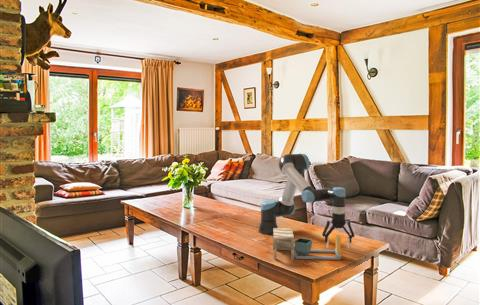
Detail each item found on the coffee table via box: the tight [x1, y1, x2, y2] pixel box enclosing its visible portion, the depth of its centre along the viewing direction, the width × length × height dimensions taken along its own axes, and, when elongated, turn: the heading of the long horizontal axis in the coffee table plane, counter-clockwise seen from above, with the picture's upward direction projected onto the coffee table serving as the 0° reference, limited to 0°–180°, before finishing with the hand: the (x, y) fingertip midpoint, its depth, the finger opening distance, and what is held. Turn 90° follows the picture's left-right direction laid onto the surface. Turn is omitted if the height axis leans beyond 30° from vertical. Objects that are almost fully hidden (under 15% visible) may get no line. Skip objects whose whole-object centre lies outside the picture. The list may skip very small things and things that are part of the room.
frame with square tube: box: [294, 234, 342, 261], centre depth 222 cm, size 14×28×12 cm, turn 86°
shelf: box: [272, 227, 295, 261], centre depth 224 cm, size 19×12×14 cm, turn 176°
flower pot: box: [294, 237, 313, 256], centre depth 223 cm, size 9×9×9 cm
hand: (338, 247), depth 221 cm, fingers open, 12 cm apart
